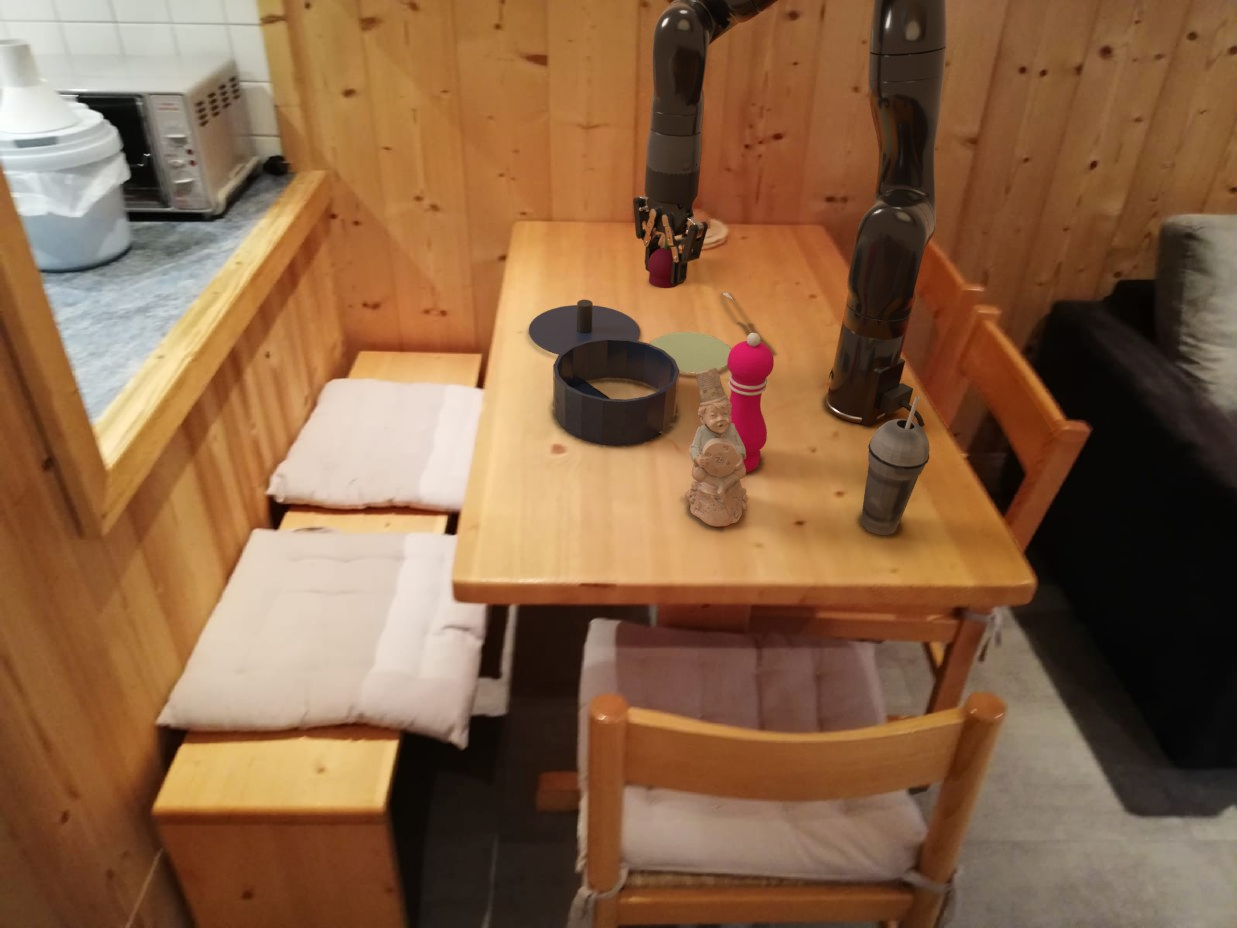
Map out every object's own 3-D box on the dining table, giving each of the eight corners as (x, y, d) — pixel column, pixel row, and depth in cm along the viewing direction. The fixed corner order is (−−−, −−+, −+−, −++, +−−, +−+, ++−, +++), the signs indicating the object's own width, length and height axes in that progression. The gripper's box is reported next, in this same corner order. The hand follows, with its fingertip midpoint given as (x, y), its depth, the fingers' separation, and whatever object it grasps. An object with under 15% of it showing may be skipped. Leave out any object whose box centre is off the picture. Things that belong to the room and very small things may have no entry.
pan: (700, 418, 136) (705, 375, 132) (603, 460, 126) (605, 415, 122) (623, 368, 147) (625, 327, 143) (529, 404, 138) (528, 360, 133)
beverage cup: (899, 506, 121) (935, 376, 109) (915, 542, 115) (955, 409, 103) (844, 505, 120) (875, 375, 109) (858, 542, 114) (892, 408, 103)
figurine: (679, 488, 122) (691, 357, 110) (741, 487, 123) (759, 357, 111) (687, 530, 115) (702, 396, 103) (753, 529, 116) (775, 395, 104)
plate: (749, 360, 151) (750, 356, 151) (687, 386, 144) (687, 381, 143) (692, 328, 160) (692, 324, 159) (631, 350, 152) (631, 346, 152)
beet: (688, 284, 135) (693, 236, 131) (662, 292, 132) (665, 244, 128) (666, 271, 138) (669, 225, 134) (639, 279, 136) (642, 232, 131)
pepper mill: (721, 478, 124) (738, 349, 112) (703, 449, 130) (718, 323, 118) (770, 471, 126) (792, 344, 114) (750, 442, 131) (769, 318, 120)
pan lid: (662, 341, 155) (664, 309, 152) (572, 373, 145) (573, 340, 142) (594, 300, 167) (595, 270, 164) (507, 328, 157) (506, 296, 154)
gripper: (729, 172, 122) (715, 288, 132) (660, 144, 131) (653, 254, 141) (687, 182, 119) (677, 301, 129) (619, 152, 127) (615, 265, 137)
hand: (664, 276), depth 135 cm, fingers closed on beet, 5 cm apart
